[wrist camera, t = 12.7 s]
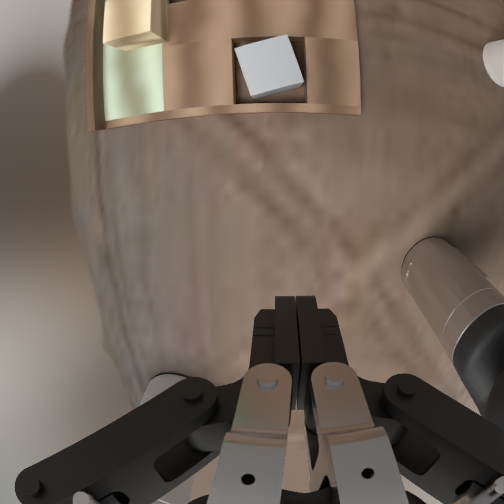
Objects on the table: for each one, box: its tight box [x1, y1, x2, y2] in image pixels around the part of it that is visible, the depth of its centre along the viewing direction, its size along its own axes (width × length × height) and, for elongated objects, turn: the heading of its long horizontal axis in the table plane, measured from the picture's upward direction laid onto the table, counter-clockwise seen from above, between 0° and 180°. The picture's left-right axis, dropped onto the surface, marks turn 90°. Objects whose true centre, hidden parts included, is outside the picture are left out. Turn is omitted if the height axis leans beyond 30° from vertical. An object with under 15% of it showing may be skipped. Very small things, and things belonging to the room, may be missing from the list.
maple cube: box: [103, 0, 168, 51], centre depth 24 cm, size 6×6×6 cm
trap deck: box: [86, 0, 361, 132], centre depth 26 cm, size 31×24×5 cm
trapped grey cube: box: [234, 34, 304, 100], centre depth 28 cm, size 6×6×6 cm
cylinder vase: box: [140, 374, 195, 504], centre depth 43 cm, size 12×12×25 cm
